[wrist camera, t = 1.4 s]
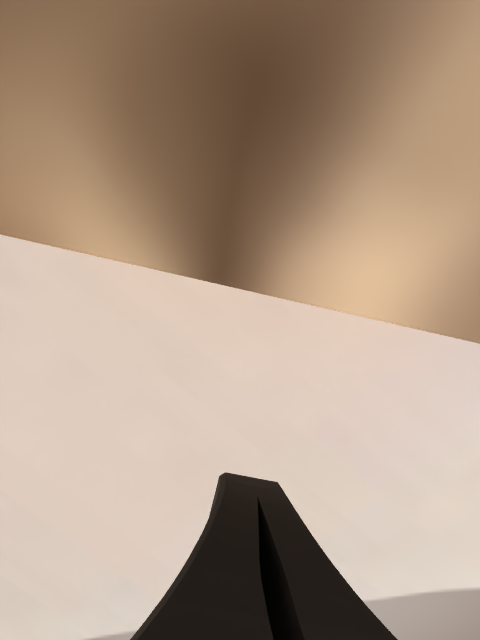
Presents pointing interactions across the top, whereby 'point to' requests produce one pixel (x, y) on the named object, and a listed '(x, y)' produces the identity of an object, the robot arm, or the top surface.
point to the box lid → (255, 146)
